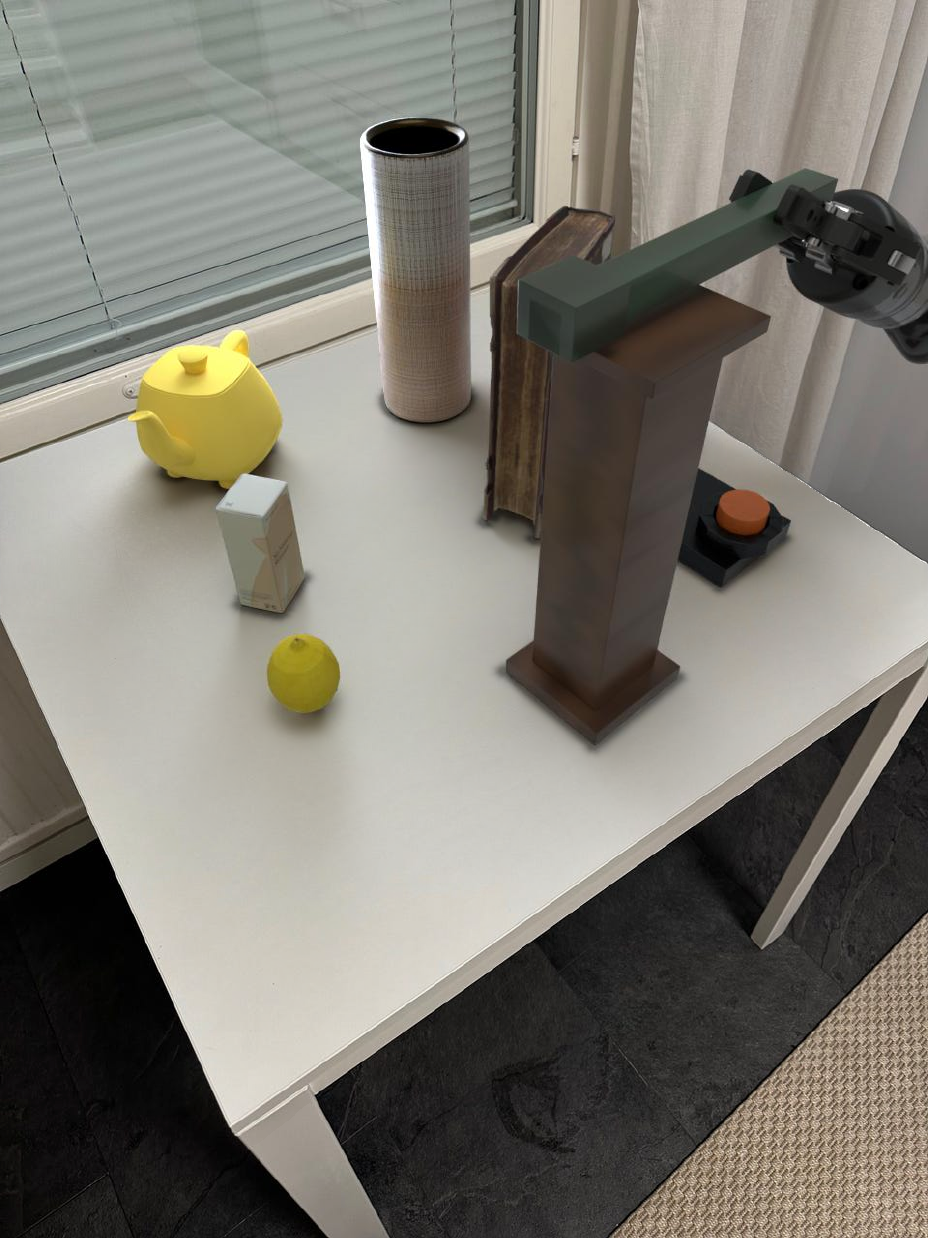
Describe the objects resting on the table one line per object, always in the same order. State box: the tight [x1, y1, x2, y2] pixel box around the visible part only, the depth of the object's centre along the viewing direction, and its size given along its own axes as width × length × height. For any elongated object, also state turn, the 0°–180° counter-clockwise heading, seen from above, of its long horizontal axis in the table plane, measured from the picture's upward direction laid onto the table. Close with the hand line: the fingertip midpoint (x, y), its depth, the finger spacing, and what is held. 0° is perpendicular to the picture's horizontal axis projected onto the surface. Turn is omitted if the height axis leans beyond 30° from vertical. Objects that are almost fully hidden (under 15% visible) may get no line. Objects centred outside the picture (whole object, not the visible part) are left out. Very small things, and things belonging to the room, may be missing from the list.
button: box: [716, 489, 770, 535], centre depth 80 cm, size 4×4×2 cm
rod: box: [517, 168, 839, 363], centre depth 50 cm, size 4×24×3 cm, turn 132°
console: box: [677, 467, 792, 588], centre depth 84 cm, size 13×10×4 cm
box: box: [215, 473, 306, 614], centre depth 77 cm, size 5×4×11 cm
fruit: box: [266, 633, 341, 714], centre depth 69 cm, size 6×6×8 cm
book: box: [482, 205, 616, 539], centre depth 81 cm, size 17×7×25 cm, turn 150°
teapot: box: [127, 329, 284, 490], centre depth 89 cm, size 13×20×12 cm
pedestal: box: [505, 284, 772, 746], centre depth 62 cm, size 10×10×32 cm
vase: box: [360, 116, 472, 424], centre depth 91 cm, size 10×10×28 cm
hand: (764, 196), depth 52 cm, fingers closed on rod, 2 cm apart
